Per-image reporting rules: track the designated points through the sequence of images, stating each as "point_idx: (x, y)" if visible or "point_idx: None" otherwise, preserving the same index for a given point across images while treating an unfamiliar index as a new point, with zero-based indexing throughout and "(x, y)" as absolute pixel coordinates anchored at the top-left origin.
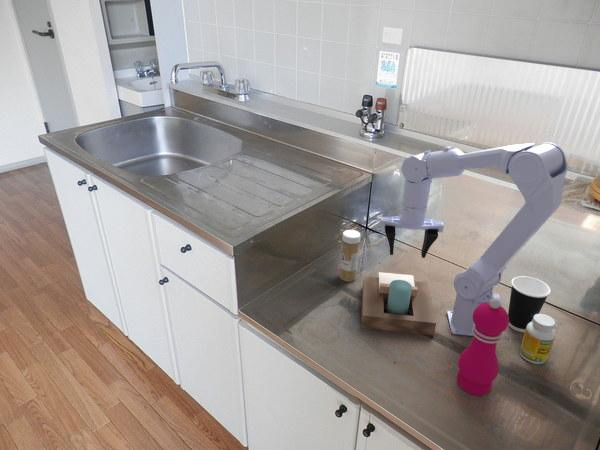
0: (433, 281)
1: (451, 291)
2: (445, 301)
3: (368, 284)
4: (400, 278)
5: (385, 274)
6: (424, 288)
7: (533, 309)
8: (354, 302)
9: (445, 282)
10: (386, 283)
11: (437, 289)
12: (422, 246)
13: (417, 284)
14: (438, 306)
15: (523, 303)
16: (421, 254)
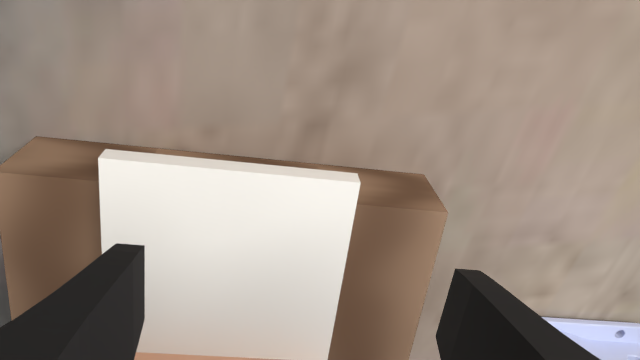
0: (519, 37)
1: (580, 140)
2: (504, 229)
3: (38, 263)
4: (259, 224)
5: (151, 183)
6: (401, 273)
7: None
8: (4, 272)
9: (592, 45)
10: (154, 285)
11: (507, 125)
12: (492, 307)
13: (369, 238)
14: (450, 269)
15: None
16: (450, 290)
